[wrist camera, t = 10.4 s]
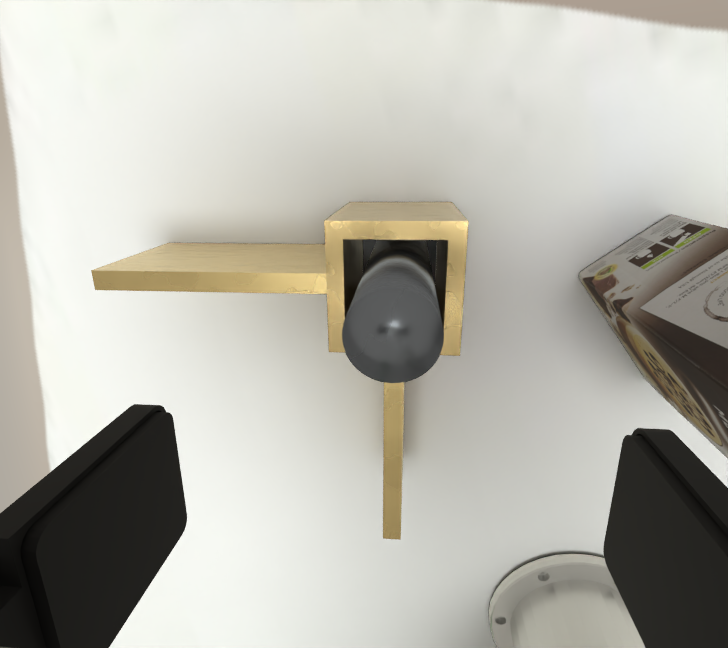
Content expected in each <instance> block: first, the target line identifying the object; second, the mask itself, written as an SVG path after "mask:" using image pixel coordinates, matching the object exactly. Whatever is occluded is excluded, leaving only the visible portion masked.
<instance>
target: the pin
mask: <svg viewBox="0 0 728 648" xmlns="http://www.w3.org/2000/svg"><path fill="white" fill-rule="evenodd" d="M342 342H343V346H344V350H345V352H346V355H347V356H348V358H349V360H350V361H351V363H352V364H353V365H354V366H355V367H356V368H357V369H358V370H359V371H360V372H361V373H363V374H364V375H366V376H368V377H370V378H372V379H374V380H377V381H380V382H385V383H402V382H407V381H411V380H413V379H416V378H418V377H419V376H421V375H423V374H424V373H426V372H427V371H428V370H429V369H430V368H431V367H432V366H433V365H434V364H435V362H436V361H437V359H438V357H439V355H440V353H441V351H442V347H443V342H444V331H443V325H442V320H441V314H440V309H439V304H438V299H437V294H436V288H435V283H434V278H433V273H432V268H431V262H430V257H429V252H428V247H427V243H426V241H425V240H377V241H376V243H375V246H374V248H373V250H372V253H371V255H370V258H369V260H368V263H367V265H366V268H365V270H364V273H363V275H362V278H361V280H360V283H359V285H358V288H357V290H356V293H355V295H354V298H353V300H352V303H351V305H350V308H349V310H348V312H347V315H346V317H345V320H344V323H343V328H342Z"/></svg>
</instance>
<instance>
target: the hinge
mask: <svg viewBox="0 0 728 648" xmlns="http://www.w3.org/2000/svg"><path fill="white" fill-rule="evenodd" d="M324 227H325V244H248V243H167V244H164V245H161V246H158V247H155V248H153V249H150V250H147V251H144V252H141V253H139V254H136V255H133V256H130V257H128V258H125V259H122V260H119V261H116V262H114V263H111V264H108V265H105V266H102V267H100V268H97V269H94V270H91V271H92V276H93V281H94V286H95V290H130V291H187V292H244V293H301V294H327V311H328V339H329V352H345V350H344V346H343V342H342V328H343V323H344V320H345V317H346V315H347V312H348V310H349V308H350V305H351V303H352V300H353V298H354V295H355V293H356V290H357V288H358V285H359V283H360V280H361V278H362V275H363V239H377V240H437V247H436V271H435V288H436V294H437V299H438V304H439V309H440V314H441V320H442V325H443V331H444V342H443V347H442V351H441V353H440V355H452V356H460V347H461V331H462V315H463V300H464V284H465V268H466V252H467V236H468V220H467V219H466V218H465V217H464V216H463V214H462V213H461V212H460V211H459V210H458V209H457V207H456V206H455V205H454V204H453V203H452V202H349V203H348V204H346V205H345V206H343V207H342V208H341V209H339V210H338V211H337V212H335V213H334V214H333V215H331V216H330V217H329V218H327V219H326V220H325V221H324ZM404 383H405V382H402V383H385V382H384V471H383V538H385V539H400V538H401V504H402V471H403V430H404Z"/></svg>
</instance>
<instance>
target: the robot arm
mask: <svg viewBox="0 0 728 648" xmlns="http://www.w3.org/2000/svg"><path fill="white" fill-rule="evenodd" d="M186 522H187V513H186V506H185V499H184V492H183V485H182V478H181V471H180V464H179V457H178V450H177V443H176V436H175V429H174V422H173V417H172V415H171V414H170V413H167V412H166V411H165V409H164V407H162V406H160V405H139V404H134V405H132V406H131V407H129V408H128V409H127V410H126V411H125V412H123V413H122V414H121V415H120V416H119V417H117V418H116V419H115V420H114V421H112V422H111V423H110V424H109V425H108V426H106V427H105V428H104V429H103V430H101V431H100V432H99V433H98V434H97V435H95V436H94V437H93V438H92V439H90V440H89V441H88V442H87V443H86V444H84V445H83V446H82V447H81V448H80V449H78V450H77V451H76V452H75V453H73V454H72V455H71V456H70V457H69V458H67V459H66V460H65V461H64V462H62V463H61V464H60V465H59V466H58V467H56V468H55V469H54V470H53V471H51V472H50V473H49V474H48V475H47V476H45V477H44V478H43V479H42V480H41V481H39V482H38V483H37V484H36V485H34V486H33V487H32V488H31V489H30V490H28V491H27V492H26V493H25V494H24V495H22V496H21V497H20V498H19V499H17V500H16V501H15V502H14V503H12V504H11V505H10V506H9V507H8V508H6V509H5V510H4V511H3V512H2V513H0V648H109V647H110V645H111V643H112V642H113V640H114V639H115V637H116V636H117V634H118V633H119V631H120V630H121V628H122V626H123V625H124V623H125V622H126V620H127V619H128V617H129V616H130V614H131V613H132V611H133V610H134V608H135V606H136V605H137V603H138V602H139V600H140V599H141V597H142V596H143V594H144V593H145V591H146V589H147V588H148V586H149V585H150V583H151V582H152V580H153V579H154V577H155V576H156V574H157V573H158V571H159V569H160V568H161V566H162V565H163V563H164V562H165V560H166V559H167V557H168V556H169V554H170V552H171V551H172V549H173V548H174V546H175V545H176V543H177V542H178V540H179V539H180V537H181V536H182V534H183V532H184V530H185V527H186ZM489 622H490V628H491V633H492V637H493V639H494V641H495V643H496V645H497V647H498V648H728V488H727V487H726V486H725V485H724V484H723V483H722V482H721V481H720V480H719V479H718V478H717V477H716V476H715V475H714V474H713V473H712V472H711V471H710V470H709V468H708V467H707V466H706V465H705V464H704V463H703V462H702V461H701V460H700V459H699V458H698V457H697V456H696V455H695V454H694V453H693V452H692V451H691V450H690V449H689V448H688V447H687V446H686V445H685V444H684V443H683V442H682V441H681V440H680V439H679V438H678V437H677V436H676V435H675V434H674V433H673V432H672V431H671V430H664V429H643V428H637V429H636V430H635V431H634V432H633V434H632V435H627V436H625V438H624V439H623V443H622V448H621V454H620V459H619V465H618V470H617V476H616V481H615V486H614V492H613V497H612V503H611V508H610V514H609V519H608V525H607V530H606V536H605V541H604V558H601V557H597V556H592V555H585V554H562V555H553V556H549V557H544V558H540V559H538V560H535V561H532V562H530V563H527V564H525V565H523V566H522V567H520V568H518V569H517V570H515V571H513V572H512V573H511V574H510V575H509V576H508V577H506V578H505V579H504V580H503V581H502V582H501V584H500V585H499V586H498V588H497V589H496V590H495V592H494V595H493V597H492V599H491V601H490V607H489Z"/></svg>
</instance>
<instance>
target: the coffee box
mask: <svg viewBox="0 0 728 648" xmlns="http://www.w3.org/2000/svg"><path fill="white" fill-rule="evenodd" d="M579 279H580V280H581V282H582V284H583V285H584V287H585V288H586V290H587V291H588V293H589V295H590V296H591V298H592V299H593V301H594V302H595V304H596V305H597V307H598V308H599V310H600V311H601V313H602V314H603V316H604V317H605V319H606V320H607V322H608V323H609V325H610V326H611V328H612V329H613V331H614V332H615V334H616V335H617V337H618V339H619V340H620V342H621V343H622V345H623V346H624V348H625V349H626V351H627V352H628V354H629V355H630V357H631V358H632V360H633V361H634V363H635V365H636V366H637V368H638V369H639V371H640V372H641V374H642V375H643V377H644V378H645V380H646V381H647V382H648V383H649V384H650V385H651V386H652V387H653V388H654V389H655V390H656V391H657V392H658V393H659V394H661V395H662V396H663V397H664V398H665V399H666V400H667V401H668V402H669V403H670V404H671V405H672V406H673V407H674V408H675V409H676V410H677V411H678V412H679V413H680V414H681V415H682V416H684V417H685V418H686V419H687V420H688V421H689V422H690V423H691V424H692V425H693V426H694V427H695V428H696V429H697V430H698V431H699V432H700V433H701V434H703V435H704V436H705V437H706V438H707V439H708V440H709V441H710V442H711V443H712V444H713V445H714V446H715V447H716V448H717V449H718V450H719V451H720V452H721V453H722V454H723V455H724V456H726V457H727V458H728V229H727V228H722V227H719V226H715V225H710V224H706V223H702V222H699V221H694V220H690V219H687V218H683V217H679V216H675V215H669V216H668V217H666V218H664V219H663V220H661V221H659V222H658V223H656V224H655V225H653V226H651V227H650V228H648V229H647V230H645V231H644V232H642V233H640V234H639V235H637V236H635V237H634V238H632V239H631V240H629V241H628V242H626V243H625V244H623V245H621V246H620V247H618V248H617V249H615V250H613V251H612V252H610V253H609V254H607V255H605V256H604V257H602V258H601V259H599V260H598V261H596V262H595V263H593V264H591V265H590V266H588V267H587V268H585V269H584V270H583V271H581V272H580V274H579Z"/></svg>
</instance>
